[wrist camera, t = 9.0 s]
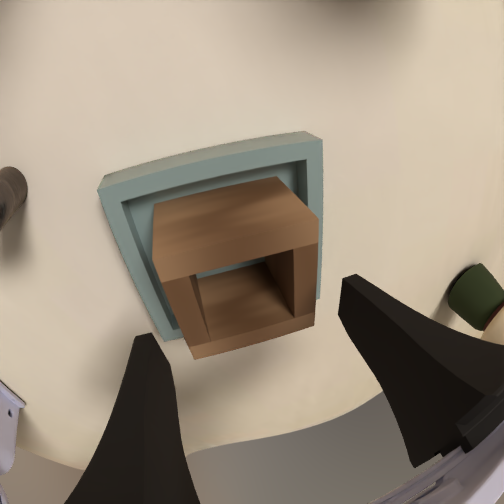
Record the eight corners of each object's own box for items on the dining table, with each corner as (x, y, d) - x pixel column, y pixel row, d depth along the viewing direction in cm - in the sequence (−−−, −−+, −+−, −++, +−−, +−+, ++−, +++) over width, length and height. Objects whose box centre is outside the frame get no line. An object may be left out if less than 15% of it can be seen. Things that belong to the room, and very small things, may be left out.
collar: (276, 176, 14) (318, 218, 10) (282, 270, 17) (314, 325, 14) (153, 203, 13) (152, 259, 9) (183, 296, 16) (194, 359, 13)
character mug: (454, 313, 31) (510, 383, 21) (424, 321, 29) (487, 405, 18) (495, 242, 25) (566, 311, 15) (470, 239, 23) (558, 324, 13)
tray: (307, 280, 19) (319, 298, 18) (162, 319, 17) (164, 341, 16) (304, 130, 13) (322, 139, 12) (104, 175, 12) (96, 190, 10)
